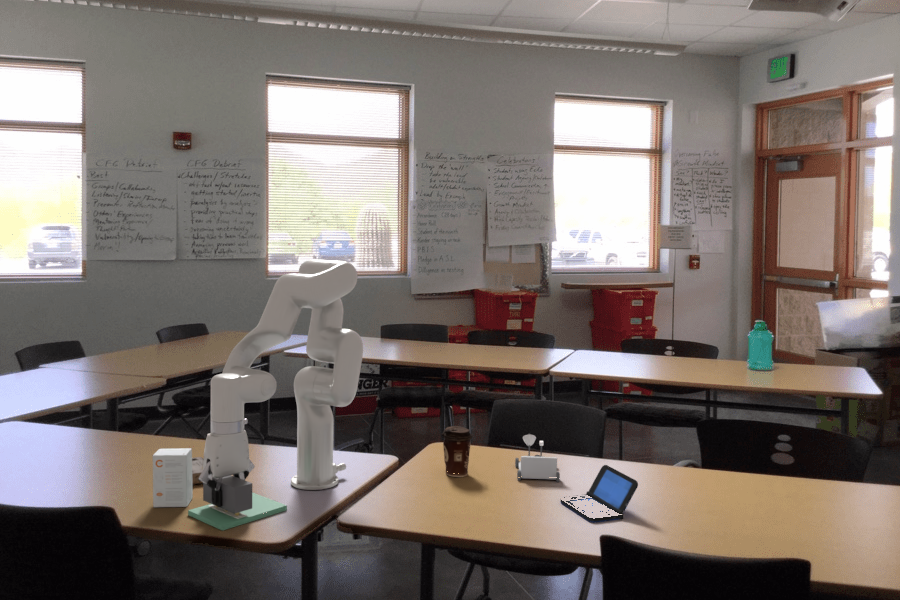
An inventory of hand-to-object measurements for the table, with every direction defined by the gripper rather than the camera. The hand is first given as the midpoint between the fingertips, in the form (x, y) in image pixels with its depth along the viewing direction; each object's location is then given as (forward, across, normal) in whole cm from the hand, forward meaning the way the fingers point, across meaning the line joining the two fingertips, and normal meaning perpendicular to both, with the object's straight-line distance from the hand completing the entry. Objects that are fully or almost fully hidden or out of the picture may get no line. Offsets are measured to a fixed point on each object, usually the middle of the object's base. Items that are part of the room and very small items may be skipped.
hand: (227, 501), depth 183 cm
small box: (+4, +4, -17) cm, 18 cm away
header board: (+3, -3, 0) cm, 5 cm away
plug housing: (+1, 0, 0) cm, 1 cm away
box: (+4, -10, -33) cm, 35 cm away
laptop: (+4, -66, +62) cm, 90 cm away
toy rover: (+4, -81, +33) cm, 87 cm away
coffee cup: (+4, -63, +18) cm, 66 cm away
